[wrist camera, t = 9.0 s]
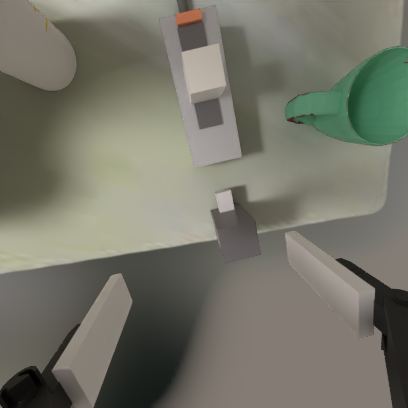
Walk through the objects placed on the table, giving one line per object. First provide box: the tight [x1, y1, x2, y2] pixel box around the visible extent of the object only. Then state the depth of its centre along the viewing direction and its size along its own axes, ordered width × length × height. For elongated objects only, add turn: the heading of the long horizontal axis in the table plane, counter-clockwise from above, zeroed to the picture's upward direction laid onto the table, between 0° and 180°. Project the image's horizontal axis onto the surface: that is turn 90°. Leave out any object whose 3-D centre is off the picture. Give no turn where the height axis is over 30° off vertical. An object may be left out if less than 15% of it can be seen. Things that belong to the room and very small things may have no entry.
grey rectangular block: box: [211, 189, 261, 263], centre depth 29 cm, size 5×8×9 cm, turn 13°
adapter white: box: [181, 43, 226, 105], centre depth 22 cm, size 4×4×4 cm
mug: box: [285, 46, 408, 146], centre depth 25 cm, size 15×10×10 cm
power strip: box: [159, 0, 242, 168], centre depth 25 cm, size 7×29×5 cm, turn 13°
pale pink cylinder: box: [0, 0, 77, 91], centre depth 20 cm, size 8×8×12 cm
